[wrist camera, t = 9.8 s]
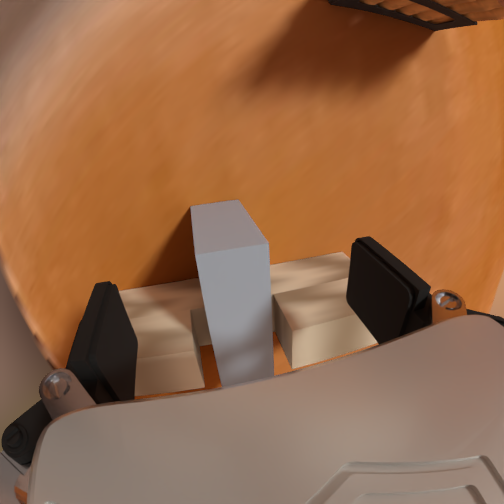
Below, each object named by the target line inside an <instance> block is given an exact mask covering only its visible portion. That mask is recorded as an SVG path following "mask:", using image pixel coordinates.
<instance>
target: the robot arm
mask: <svg viewBox="0 0 504 504" xmlns="http://www.w3.org/2000/svg"><path fill="white" fill-rule="evenodd" d="M430 288H431V286H429V285H428V284H427V283H426V282H425V281H424V280H423V279H421V278H420V277H419V276H418V275H417V274H416V273H414V272H413V271H412V270H411V269H410V268H408V267H407V266H406V265H405V264H404V263H402V262H401V261H400V260H399V259H398V258H396V257H395V256H394V255H393V254H392V253H390V252H389V251H388V250H387V249H385V248H384V247H383V246H382V245H380V244H379V243H378V242H377V241H375V240H374V239H373V238H371V237H370V236H368V237H362V238H357V239H356V240H355V242H354V243H353V244H352V248H351V258H350V267H349V276H348V284H347V292H346V300H347V303H348V305H349V306H350V307H351V308H352V310H353V311H354V312H355V314H356V315H357V316H358V317H359V319H360V320H361V321H362V323H363V324H364V325H365V326H366V328H367V329H368V330H369V332H370V333H371V334H372V336H373V337H374V338H375V340H376V341H377V342H378V344H379V345H376V346H373V347H371V348H368V349H365V350H362V351H359V352H356V353H353V354H350V355H347V356H344V357H340V358H337V359H334V360H331V361H327V362H324V363H321V364H317V365H314V366H310V367H306V368H303V369H299V370H295V371H292V372H288V373H284V374H280V375H276V376H272V377H267V378H263V379H259V380H254V381H249V382H245V383H240V384H235V385H230V386H225V387H219V388H214V389H208V390H202V391H196V392H190V393H183V394H176V395H168V396H161V397H153V398H144V399H136V400H134V397H135V378H136V364H137V352H138V340H137V337H136V334H135V332H134V329H133V327H132V325H131V322H130V320H129V317H128V315H127V312H126V309H125V307H124V304H123V302H122V299H121V296H120V293H119V291H118V288H117V286H116V285H115V284H113V285H112V283H111V282H110V281H107V282H101V283H96V284H95V286H94V289H93V291H92V294H91V297H90V299H89V302H88V305H87V307H86V310H85V313H84V316H83V319H82V320H81V322H80V324H79V327H78V330H77V333H76V336H75V339H74V342H73V345H72V349H71V352H70V355H69V359H68V362H67V366H66V369H61V368H60V369H56V370H53V371H52V372H50V373H48V374H47V375H46V376H45V377H44V378H43V380H42V381H41V384H40V386H39V394H40V397H41V400H40V401H39V402H37V403H36V404H35V405H34V406H32V407H31V408H30V409H29V410H28V411H26V412H25V413H24V414H23V415H21V416H20V417H19V418H17V419H16V420H15V421H14V422H13V423H11V424H10V425H9V426H8V427H7V428H6V429H5V431H4V433H3V436H2V447H3V451H2V452H0V504H504V319H503V318H502V317H499V316H494V315H490V314H486V313H481V312H477V311H473V310H469V309H466V305H465V302H464V300H463V298H462V297H461V296H460V295H458V294H457V293H455V292H453V291H450V290H444V289H442V290H437V291H435V292H434V293H433V294H432V295H431V294H430V293H429V291H430Z"/></svg>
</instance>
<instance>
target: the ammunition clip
mask: <svg viewBox="0 0 504 504" xmlns="http://www.w3.org/2000/svg"><path fill="white" fill-rule="evenodd" d="M328 1H329V3H330V4H331V5H337V6H343V7H349V8H354V9H359V10H364V11H369V12H373V13H378V14H382V15H386V16H389V17H393V18H397V19H400V20H404V21H407V22H410V23H413V24H416V25H419V26H422V27H425V28H428V29H431V30H433V31H438V30H443V29H449V28H456V27H463V26H470V25H477V21H486V20H499V19H504V0H328Z"/></svg>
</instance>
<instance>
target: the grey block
mask: <svg viewBox="0 0 504 504" xmlns="http://www.w3.org/2000/svg"><path fill="white" fill-rule="evenodd" d="M190 207H191V218H192V229H193V239H194V248H195V257H196V262H197V268H198V274H199V279H200V285H201V290H202V295H203V301H204V306H205V311H206V316H207V321H208V326H209V331H210V335H211V340H212V345H213V349H214V354H215V358H216V363H217V367H218V372H219V376H220V380H221V384H222V387H225V386H230V385H235V384H240V383H245V382H249V381H254V380H259V379H263V378H267V377H272V376H274V359H273V330H272V305H271V281H270V259H269V243H268V241H267V240H266V239H265V237H264V236H263V234H262V233H261V231H260V230H259V228H258V227H257V226H256V224H255V223H254V221H253V220H252V218H251V217H250V216H249V214H248V213H247V211H246V210H245V208H244V207H243V206H242V204H241V203H240V201H239V200H231V201H224V202H217V203H210V204H203V205H196V206H190Z"/></svg>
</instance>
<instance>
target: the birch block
mask: <svg viewBox="0 0 504 504" xmlns="http://www.w3.org/2000/svg"><path fill="white" fill-rule="evenodd" d="M349 267H350V258H349V257H348V256H346V255H345V254H344V253H343V252H338V253H333V254H328V255H322V256H317V257H312V258H307V259H301V260H296V261H290V262H285V263H280V264H274V265H270V281H271V305H272V330H273V332H276V335H277V337H278V339H279V341H280V344H281V346H282V348H283V350H284V352H285V355H286V357H287V359H288V361H289V364H290V366H291V368H292V369H294V368H298V367H302V366H305V365H309V364H312V363H316V362H319V361H323V360H326V359H330V358H333V357H336V356H339V355H342V354H346V353H349V352H352V351H355V350H358V349H361V348H364V347H366V346H369V345H372V344H375V343H378V342H377V341H376V340H375V338H374V337H373V336H372V334H371V333H370V332H369V330H368V329H367V328H366V326H365V325H364V324H363V323H362V321H361V320H360V319H359V317H358V316H357V315H356V314H355V312H354V311H353V310H352V308H351V307H350V306H349V305H348V303H347V300H346V292H347V284H348V276H349ZM119 293H120V296H121V299H122V302H123V304H124V307H125V309H126V312H127V315H128V317H129V320H130V322H131V325H132V327H133V329H134V332H135V334H136V337H137V340H138V352H137V364H136V378H135V396H142V395H152V394H161V393H170V392H177V391H185V390H192V389H198V388H204V387H205V383H204V376H203V369H202V362H201V354H200V346H204V345H210V344H212V340H211V335H210V331H209V326H208V321H207V316H206V311H205V306H204V301H203V295H202V290H201V285H200V279H199V278H195V279H189V280H183V281H178V282H172V283H166V284H160V285H154V286H148V287H141V288H135V289H129V290H123V291H119Z"/></svg>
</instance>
